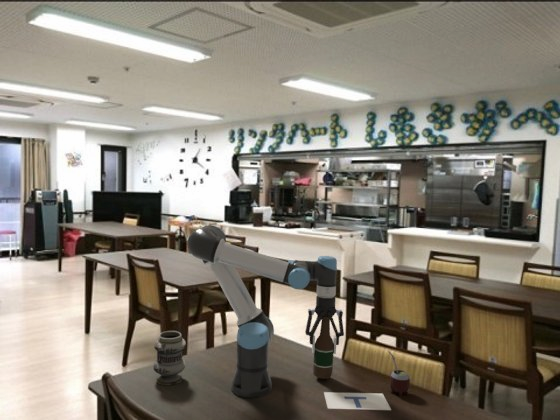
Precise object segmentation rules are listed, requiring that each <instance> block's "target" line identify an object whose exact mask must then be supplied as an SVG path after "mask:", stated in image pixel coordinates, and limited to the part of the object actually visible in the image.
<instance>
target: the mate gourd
mask: <svg viewBox="0 0 560 420" xmlns="http://www.w3.org/2000/svg"><path fill="white" fill-rule="evenodd" d="M387 352H388V354H389V355H390V356H391V358H392V361H393V364H394V367H395V370H393V371H392V372H391V374H390V376H389V377H390V378H389V384H390V389H391V390H390V394H393V395H394V394H395V395H398V396H399V397H400V398H403V395H408V394H409V393H408V390H409V388H410V382H411V381H410V375H409V374H408V373H407V371H405V370H402V369H398V367H397V363H396V360H395V359H396V358H395V356H394V355H393V354H392V353H391V352H390V351H389V350H388V349H387Z"/></svg>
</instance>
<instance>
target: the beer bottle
mask: <svg viewBox="0 0 560 420" xmlns="http://www.w3.org/2000/svg"><path fill="white" fill-rule="evenodd" d="M322 319H323V320H321V321H320V323H321V324H320V332H319V335H318V337H317V338H316V339H315V353H314V354H313V368H312V370H313V371H312V372H313V373H312V374H313V376H315V377H316V378H318V379H323V380H325V379H331V378H332V375H333V370H334V368H333V367H334V343H333V339H334V338H333V337H332V336H331V329H330V325H331V321H330V318H329V316H328V317H326V316H323V317H322Z"/></svg>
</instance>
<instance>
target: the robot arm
mask: <svg viewBox="0 0 560 420" xmlns="http://www.w3.org/2000/svg"><path fill="white" fill-rule="evenodd" d="M186 240H187V243H186V245H187V246H186V247H187V249H188V251H189V253H190V255H192V256H193V257H195V258H196V259H199V260H201V261H202V263H203V265H205V266H209V267H210V270H211V271H212V272H213V274H214V277H215V278H216V280H217V282H218V284H219V286H220V287H221V289H222V292H223V293H224V295H225V297H226V299H227V301H228V302H229V305H230V306H231V308H232V310H233V311H234V315H235V316H236V317H237V322H236V326H237V328H238V330H237V333H236V334H237V335H236V369H235V372H234V375H233V377H232V380H231V383H230V385H231V387H230V388H231V391H232V393H233V394H235V395H236V396H239V397H242V398H248V399H249V398H251V399H253V398H260V397H264V396H267V395H268V394H270V393H271V392H272V387H273V386H272V385H273V383H272V380H271V375H270V371H269V369H268V364H269V347H270V346H271V343H272V341H273V337H274V334H275V327H274V324H273V322H272V320H271V319H270V318H269V317H268V316H266V315H265V312H264V310H263V309H262V308H259V307H257V306H256V304H255V302H254V300H253V298H252V296H251V294H250V293H249V291H248V289H247V286H246V285H245V283H244V281H243V280H242V278H241V276H240V274H239V272H238V271H237V269H240V270H244V271H247V272H249V273H253V274H256V275H259V276H262V277H265V278H268V279H271V280H275V281H278V282H280V283H284V284H287V285H290V287H291V288H293V289H294V290H303V289H305V288H306V287H307V286H308V284H309V283H310V281H316V297H315V298H316V301H315V308H313V309H311V308H308V310H307V313H308V315H307V316H308V317H307V322H306V326H305V335H306V336H309V344H310V345H312V346H311V352H312V354H313V355H314V353H315V342H316V335H315V333H316V332H317V329H318V326H319V324H320V323H321V322H322V320H323V319H322V317H323V316H326V317H328V316H329V318H330V325H331V326H332V328H333V329H332V330H333V331H334V332H333V333H334V334H335V335H333V338H332V339H333V343H334V353H333V355H336V354H337V346H339V344H340V337H344V336H345V332H344V323H343V315H344V313H343V310H342V309H337V308H336V294H337V293H336V292H337V274H338V273H337V272H338V268H337V267H338V264H337V263H338V261H337V259H336V257H334V256H332V255H331V256H329V255H321V256H318V257H317V260H316V261H310V260H298V259H294V260H292V259H290V260H288V261H285V260H282V259H278V258H277V257H272V256H269V255H266V254H263V253H259V252H256V251H253V250H251V249H247V248H244V247H241V246H237V245H235V244H231V243H228V242H227V238H226V233H225V232H224V231H223V229H221V228H220V227H219V226H216V225H212V224H211V225H205V226H201V227H200V228H199V227H198V228H196V229H194V230H193V231H192V232H191V233H190V234H189V235H188V238H187V239H186ZM314 314H316V318H315V321H314V323H313V325H312V320H313V316H314ZM335 314H336V316H337V318H338V327H339V331H338V329H337V326H336V324H335V323H336V322H335V321H334V318H333V317H334V315H335ZM311 325H312V328H311Z"/></svg>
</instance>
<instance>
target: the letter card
mask: <svg viewBox="0 0 560 420" xmlns="http://www.w3.org/2000/svg"><path fill="white" fill-rule="evenodd" d="M323 394H324V398H325V402H326V407H327V410H359V411H360V410H365V411H369V410H370V411H392V408H391V406H390V404H389V403H388V400H387V399H386V397H385V396H384V393H375V392H374V393H373V392H330V391H329V392H328V391H323Z"/></svg>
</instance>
